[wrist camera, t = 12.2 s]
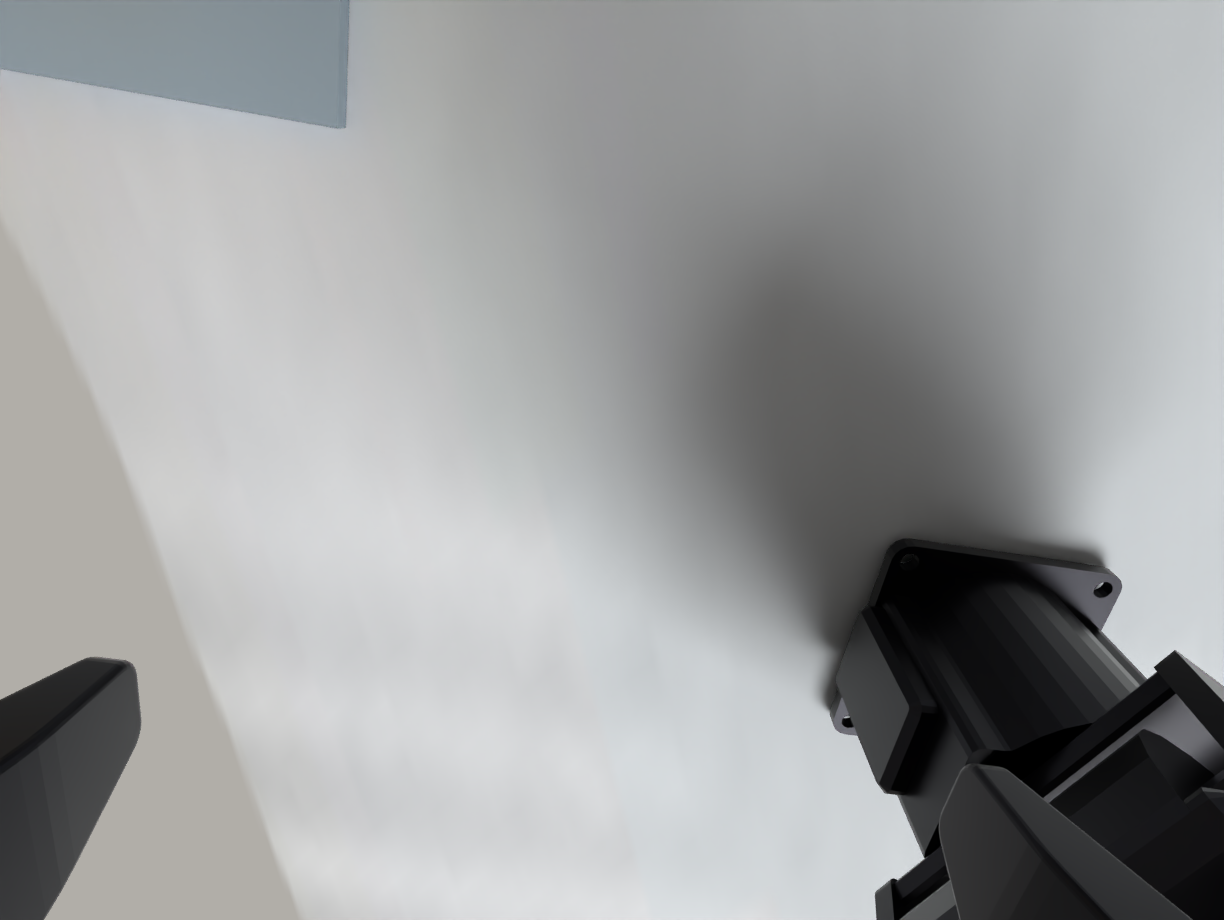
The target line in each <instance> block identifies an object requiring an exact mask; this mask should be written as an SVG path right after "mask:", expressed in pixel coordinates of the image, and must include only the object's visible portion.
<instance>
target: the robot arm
mask: <svg viewBox="0 0 1224 920" xmlns="http://www.w3.org/2000/svg"><path fill="white" fill-rule="evenodd" d="M909 554H913V557H912V559H911V560H910V561H908V562H905V563H900V561H901V559H902V558H903V557H904V556H906V555H909ZM1102 582H1104V583H1103V585H1102V586H1101V587H1100V588H1098V589H1095V590H1094V588H1095V587H1096V586H1097V585H1098V584H1100V583H1102ZM1121 589H1122V584H1121V580H1120V579H1119V578H1118V577H1117V576H1116V575H1115V574H1113V573H1112V572H1111V571H1110V570H1109V569H1107V568H1105V567H1101V566H1094V565H1087V564H1081V563H1074V562H1067V561H1060V560H1053V559H1046V558H1039V557H1032V556H1025V555H1018V554H1011V553H1005V552H998V551H991V550H984V549H977V548H970V547H963V546H956V545H949V544H942V543H936V542H929V541H922V540H915V539H902V540H899V541H896V542H895V543H894V544H892V545H891V546H890V547H889V549H888V551H887V552H886V555H885V558H884V561H883V564H882V566H881V569H880V572H879V575H878V578H877V580H876V583H875V586H874V589H873V592H872V594H871V597H870V600H869V603H868V605H867V606H865V607H864V608H863V609H862V610H861V611H860V612H859V613H858V616H857V619H856V622H855V625H854V628H853V630H852V633H851V636H850V639H849V642H848V645H847V647H846V650H845V653H844V656H843V659H842V662H841V664H840V667H839V670H838V673H837V676H836V684H837V686H838V690H837V692H836V695H835V698H834V701H833V704H832V706H831V709H830V717H831V719H832V722H833V725H834V727H835V729H836V730H837V731H839V732H840V733H843V734H848V735H856V736H858V738H859V740H860V743H861V745H862V748H863V750H864V752H865V755H866V757H867V760H868V762H869V765H870V767H871V770H872V772H873V775H874V777H875V779H876V782H877V784H878V785H879V786H880V788H881V789H882V790H883V792H884V793H886V794H895V795H897V796H898V798H899V800H900V803H901V805H902V807H903V810H904V812H905V814H906V817H907V819H908V821H909V823H910V826H911V828H912V830H913V833H914V835H915V837H916V840H917V842H918V844H919V847H920V849H921V851H922V854H923V856H924V858H925V859H923V860H922V861H921V862H920V863H918V864H917V865H916V866H915V867H913V868H912V869H911V870H910V871H909V872H907V873H906V874H905V875H904V876H902V877H901V878H900V879H899V880H896V879H891V880H890V881H888V882H887V883H886V884H885V885H883V886H882V887H881V888H880V889H878V890H877V891H876V892H875V902H876V918H877V920H1224V686H1223V685H1221V684H1220V683H1219V682H1217V681H1216V680H1215V679H1213V678H1212V677H1211V676H1209V675H1208V674H1207V673H1205V672H1204V671H1203V670H1201V669H1200V668H1199V667H1197V666H1196V665H1195V664H1193V663H1192V662H1191V661H1189V660H1188V659H1187V658H1185V657H1184V656H1183V655H1181V654H1180V653H1179V652H1177V651H1176V650H1174V651H1173V652H1172V653H1171V654H1169V655H1168V656H1167V657H1166V658H1165V659H1163V660H1162V661H1161V662H1160V663H1158V664H1157V665H1156V666H1155V667H1154V668H1155V670H1156V671H1157V672H1156V673H1155V674H1154V675H1152V676H1151V677H1150V678H1149V679H1146V677H1145V676H1144V675H1143V674H1142V673H1141V672H1140V671H1139V670H1138V669H1137V668H1136V667H1135V666H1134V665H1133V664H1132V663H1131V662H1130V661H1129V660H1128V659H1127V658H1126V657H1125V655H1124V654H1123V653H1122V652H1121V651H1120V650H1119V649H1118V648H1117V647H1116V646H1115V645H1114V644H1113V643H1112V642H1111V641H1110V640H1109V639H1108V638H1107V637H1106V636H1105V635H1104V633H1103V632H1102V631H1101V630H1102V628H1103V626H1104V624H1105V622H1106V620H1107V618H1108V616H1109V614H1110V612H1111V610H1112V608H1113V606H1114V604H1115V602H1116V600H1117V598H1118V596H1119V594H1120V592H1121ZM847 715H849V716H850V718H844V717H845V716H847ZM140 730H141V712H140V702H139V693H138V682H137V674H136V669H135V667H134V666H133V664H132V663H130V662H128V661H126V660H119V659H111V658H102V657H89V658H86V659H83V660H81V661H79V662H77V663H74V664H72V665H71V666H68V667H66V668H64V669H63V670H60V671H58V672H56V673H54V674H52V675H50V676H48V677H46V678H44V679H42V680H40V681H38V682H36V683H34V684H31V685H29V686H27V687H25V688H23V689H21V690H19V691H17V692H15V693H13V694H11V695H9V696H7V697H5V698H3V699H1V700H0V920H44V919H45V917H46V916H47V914H48V912H49V911H50V909H51V907H52V906H53V904H54V902H55V901H56V899H57V897H58V896H59V894H60V892H61V891H62V889H63V887H64V885H65V883H66V882H67V880H68V878H69V876H70V874H71V872H72V870H73V868H74V866H75V865H76V863H77V861H78V859H79V857H80V855H81V853H82V851H83V849H84V847H85V845H86V843H87V841H88V839H89V837H90V835H91V833H92V831H93V829H94V827H95V825H96V823H97V821H98V819H99V817H100V815H101V813H102V811H103V810H104V807H105V806H106V804H107V802H108V799H109V798H110V796H111V794H112V792H113V790H114V788H115V786H116V784H117V782H118V780H119V778H120V776H121V774H122V772H123V770H124V768H125V766H126V764H127V762H128V760H129V758H130V756H131V754H132V752H133V750H134V748H135V746H136V744H137V741H138V738H139V734H140Z"/></svg>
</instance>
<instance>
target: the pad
mask: <svg viewBox="0 0 1224 920" xmlns="http://www.w3.org/2000/svg"><path fill="white" fill-rule="evenodd" d="M348 24H349V0H0V69H4V70H9V71H15V72H21V73H26V74H32V75H38V76H43V77H49V78H55V79H60V80H66V81H72V82H77V83H83V84H89V85H94V86H100V87H106V88H111V89H117V90H123V91H128V92H134V93H140V94H145V95H151V96H156V97H162V98H168V99H173V100H179V101H185V102H190V103H196V104H202V105H207V106H213V107H219V108H224V109H230V110H236V111H241V112H247V113H253V114H258V115H264V116H270V117H275V118H281V119H287V120H292V121H298V122H304V123H309V124H315V125H321V126H326V127H332V128H346V96H347V60H348Z"/></svg>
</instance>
